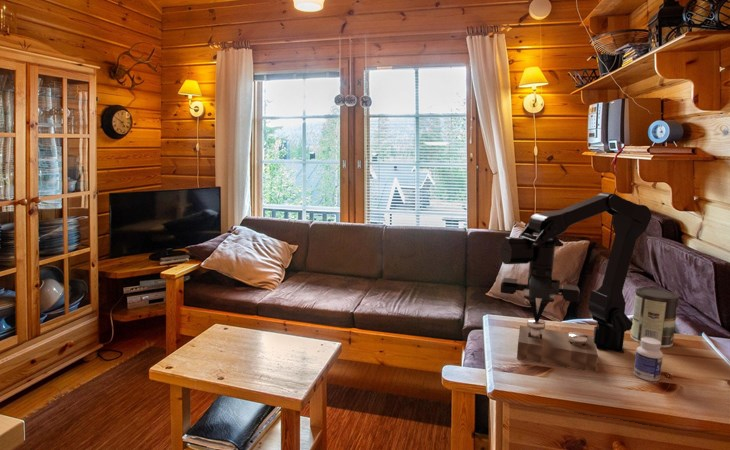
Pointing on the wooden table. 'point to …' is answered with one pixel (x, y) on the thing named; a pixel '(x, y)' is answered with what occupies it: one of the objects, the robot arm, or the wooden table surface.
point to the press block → (556, 350)
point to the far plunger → (535, 327)
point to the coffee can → (654, 315)
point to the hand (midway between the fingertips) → (536, 321)
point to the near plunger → (577, 338)
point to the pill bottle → (648, 359)
